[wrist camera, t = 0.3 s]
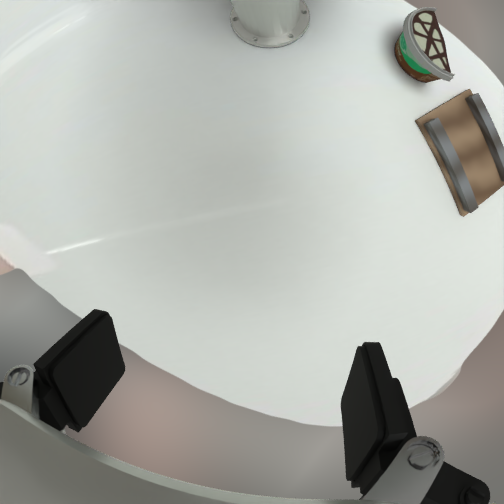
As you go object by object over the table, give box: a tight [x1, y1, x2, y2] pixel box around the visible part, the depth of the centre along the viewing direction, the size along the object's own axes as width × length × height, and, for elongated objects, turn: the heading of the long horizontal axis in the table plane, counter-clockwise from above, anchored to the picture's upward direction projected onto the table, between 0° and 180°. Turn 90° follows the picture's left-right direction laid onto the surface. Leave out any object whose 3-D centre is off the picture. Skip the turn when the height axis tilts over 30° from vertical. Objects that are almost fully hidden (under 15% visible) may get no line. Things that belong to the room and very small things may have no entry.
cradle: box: [415, 89, 504, 217], centre depth 34 cm, size 18×14×4 cm
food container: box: [395, 7, 455, 83], centre depth 28 cm, size 12×6×10 cm, turn 5°
